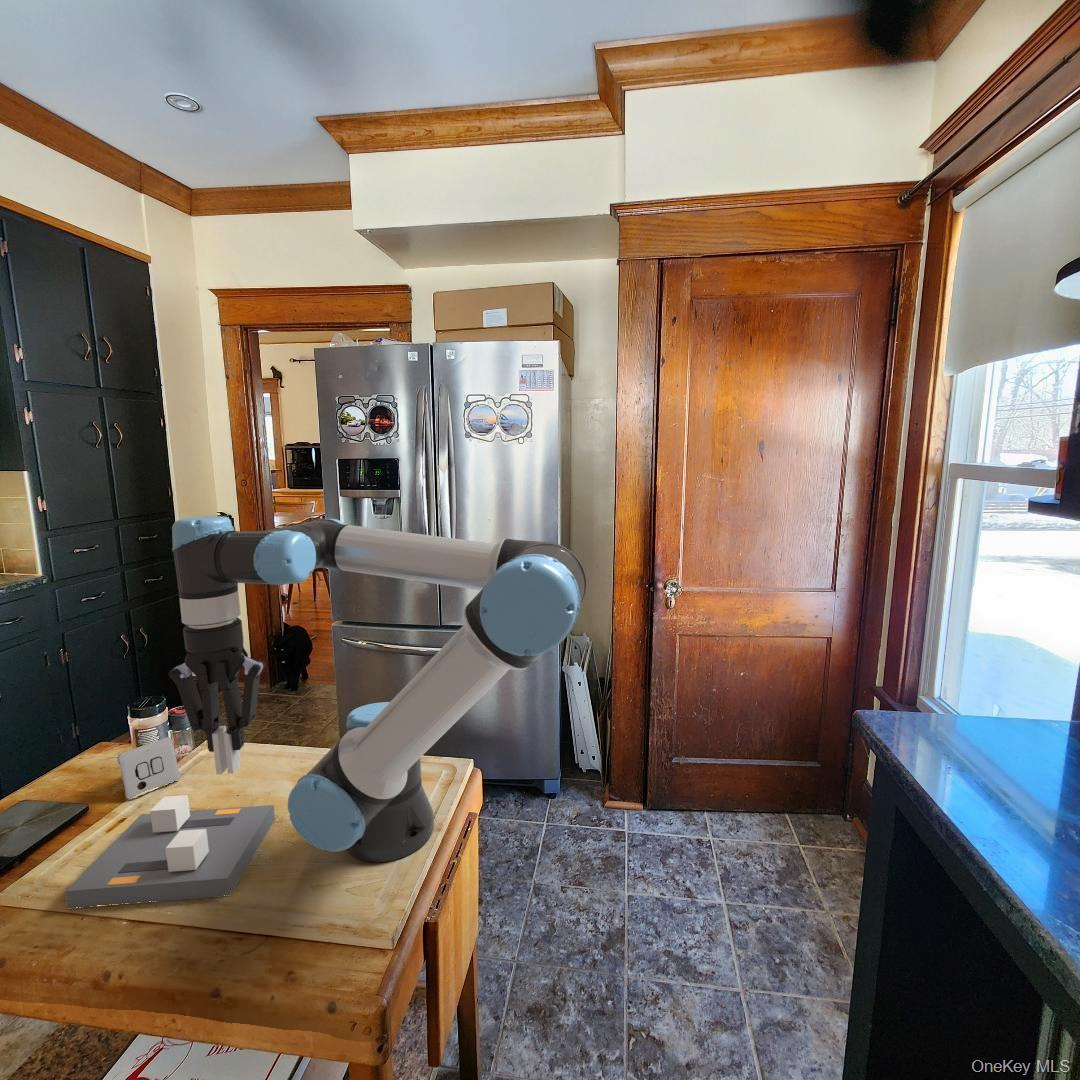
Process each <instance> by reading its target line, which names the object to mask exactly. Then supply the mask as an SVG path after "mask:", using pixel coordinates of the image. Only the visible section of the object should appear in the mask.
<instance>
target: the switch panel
mask: <svg viewBox="0 0 1080 1080" xmlns="http://www.w3.org/2000/svg"><path fill="white" fill-rule="evenodd" d="M275 821H276V816H275V808H274V804H268V805H265V804H264V805H255V806H254V805H253V806H252V805H251V806H241V807H240V806H238V807H237V806H236V807H226V808H225V807H223V808H211V809H198V810H197V809H196V810H190V817H189V818H188V819H187V820H186V821H185V823H184V824H183V825H182V826H181V827H180V829H179V830H178V831H167V832H154V833H153V829H152V822H151V814H150V813H142V814H140V815H138V817H137V818H136V819H135V820H134V821H133V822H132V823H130V825H129V826H128V827H127V828H126V829H125V830H124V831H123V832H122V833H121V834H120V835H119V836H118V837H117V838H116V839H115V840H114V841H113V842H112V843H111V844H110V845H109V846H108V847H107V848H106V849H105V850H104V851H103V852H102V853H101V854H100V855H99V856H98V857H97V859H95V860H94V861H93V862H92V864H90V865H89V866H88V867H87V868H86V870H85V871H83V872H82V874H80V876H78V878H77V879H76V880H74V881H73V882H72V884H71V885H69V886H68V888H66V889H65V891H64V893H65V894H64V895H65V899H66V900H65V901H66V905H67V909H68V908H76V907H78V909H83V908H82V907H90V906H97V905H109V904H111V905H112V904H122V903H123V904H125V903H137V902H149V901H151V902H150V903H155V902H154V901H162V902H170V901H183V900H185V901H186V900H196V899H208V898H218V896H222V897H229V896H228V895H231V894H232V893H233V891H234V889H235V887H236V885H237V884H238V883H239V881H240V878H241V877H242V876H243V874H244V872H245V871H244V870H246V868H247V867H248V866H249V864H250V862H251V861H252V859H253V857H254V856H253V855H256V853H257V851H256V850H258V849H259V847H260V845H261V844H262V843H263V841H264V839H265V837H266V835H267V834H268V832H269V830H270V829H271V827H272V826H273V824H274V822H275ZM198 829H206V831H207V839H208V847H209V852H208V854H207V855H206V856H205V858H204V859H203V861H202V862H201V863H200V865H199V866H198V867H197V869H196V870H186V871H173V872H169V871H168V864H167V856H166V847H167V846H168V845H169V843H170V842H171V841H172V840H173V839H174V837H175V836H176V835H177V834H178V833H179V831H184V830H198ZM232 890H233V891H232ZM230 893H231V894H230ZM224 895H225V896H224ZM226 895H227V896H226ZM152 901H153V902H152ZM79 907H81V908H79ZM90 908H91V907H90Z"/></svg>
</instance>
